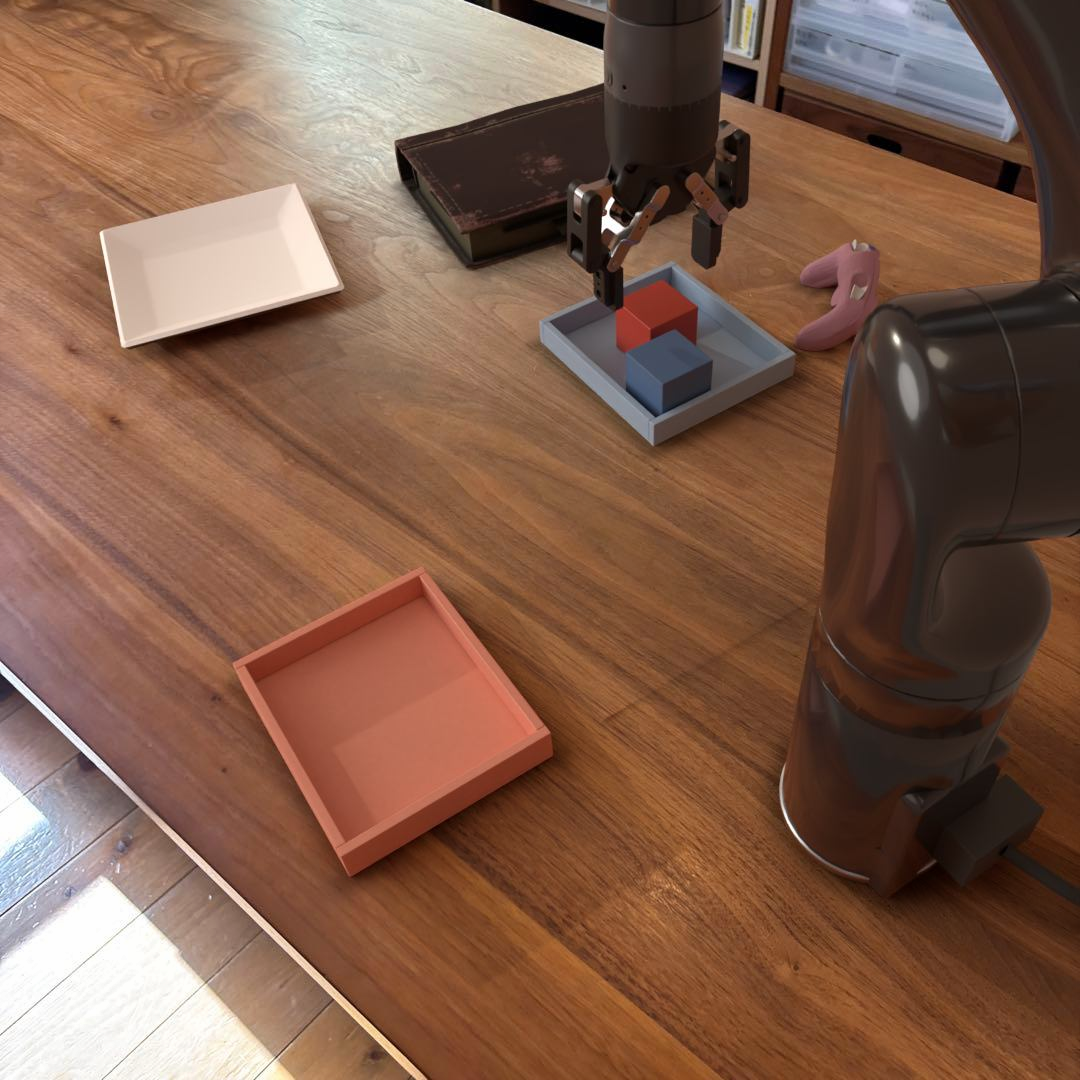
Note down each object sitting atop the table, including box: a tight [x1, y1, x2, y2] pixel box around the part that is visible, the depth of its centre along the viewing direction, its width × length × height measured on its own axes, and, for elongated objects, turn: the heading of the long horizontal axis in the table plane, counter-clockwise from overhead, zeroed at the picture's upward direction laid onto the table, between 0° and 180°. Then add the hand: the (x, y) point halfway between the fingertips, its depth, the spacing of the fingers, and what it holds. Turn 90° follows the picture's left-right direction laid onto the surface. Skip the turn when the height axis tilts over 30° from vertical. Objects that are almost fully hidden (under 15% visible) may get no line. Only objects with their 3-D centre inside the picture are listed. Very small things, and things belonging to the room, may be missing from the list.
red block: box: [616, 280, 698, 355], centre depth 86 cm, size 4×4×4 cm
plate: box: [99, 182, 345, 350], centre depth 98 cm, size 19×19×2 cm
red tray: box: [232, 566, 554, 878], centre depth 66 cm, size 15×13×2 cm
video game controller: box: [794, 239, 881, 352], centre depth 87 cm, size 10×5×7 cm, turn 168°
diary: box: [393, 82, 715, 269], centre depth 103 cm, size 19×25×5 cm
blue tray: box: [538, 260, 797, 447], centre depth 86 cm, size 15×13×2 cm
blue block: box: [626, 329, 713, 418], centre depth 81 cm, size 4×4×4 cm
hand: (658, 283), depth 83 cm, fingers open, 8 cm apart
